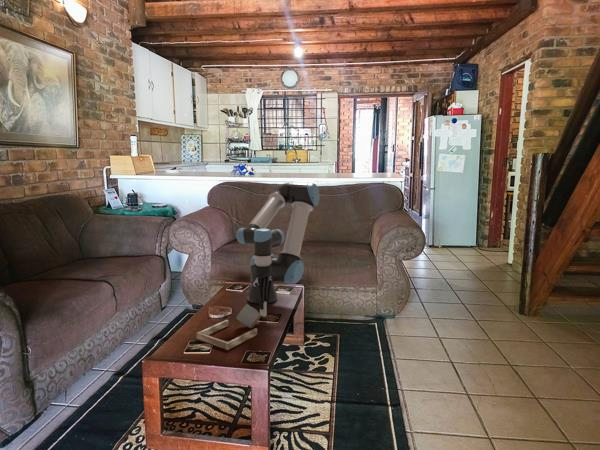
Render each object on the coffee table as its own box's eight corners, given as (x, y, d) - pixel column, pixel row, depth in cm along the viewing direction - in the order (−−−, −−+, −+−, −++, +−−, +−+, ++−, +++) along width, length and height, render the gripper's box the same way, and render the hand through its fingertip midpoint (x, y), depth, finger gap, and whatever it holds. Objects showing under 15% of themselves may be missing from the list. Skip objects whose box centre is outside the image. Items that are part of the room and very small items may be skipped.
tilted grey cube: (249, 332, 175) (255, 322, 170) (234, 321, 176) (239, 311, 171) (262, 316, 183) (267, 306, 178) (246, 305, 184) (252, 295, 179)
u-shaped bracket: (226, 325, 179) (226, 319, 178) (257, 334, 169) (257, 328, 169) (196, 339, 165) (196, 333, 164) (227, 350, 155) (227, 343, 155)
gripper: (265, 260, 189) (265, 309, 193) (246, 265, 179) (247, 318, 182) (278, 262, 185) (278, 313, 189) (260, 268, 174) (260, 321, 178)
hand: (263, 315), depth 185 cm, fingers closed
